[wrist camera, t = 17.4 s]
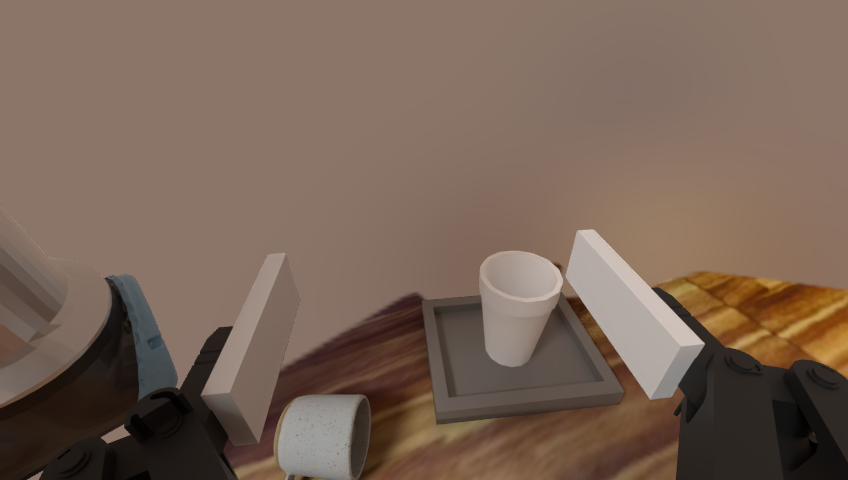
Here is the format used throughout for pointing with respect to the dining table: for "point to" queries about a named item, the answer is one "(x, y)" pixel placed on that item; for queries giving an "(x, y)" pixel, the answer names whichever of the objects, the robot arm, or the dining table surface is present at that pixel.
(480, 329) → the cafeteria tray
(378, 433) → the dining table surface
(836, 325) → the dining table surface
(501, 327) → the foam cup
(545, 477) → the dining table surface
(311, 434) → the ceramic mug
